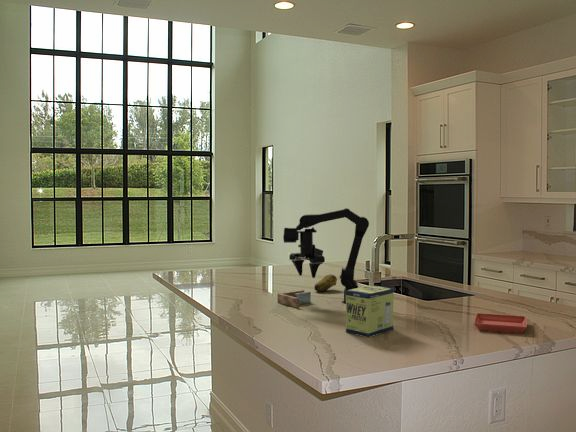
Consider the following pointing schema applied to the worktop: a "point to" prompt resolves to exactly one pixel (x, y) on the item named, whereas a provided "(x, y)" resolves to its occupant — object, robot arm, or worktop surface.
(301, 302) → the bracket
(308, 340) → the worktop surface
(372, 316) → the protein box
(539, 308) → the worktop surface
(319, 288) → the potato
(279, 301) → the wooden corner frame
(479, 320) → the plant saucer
